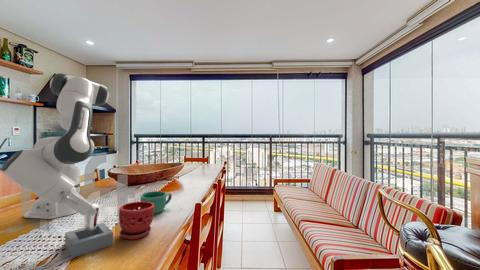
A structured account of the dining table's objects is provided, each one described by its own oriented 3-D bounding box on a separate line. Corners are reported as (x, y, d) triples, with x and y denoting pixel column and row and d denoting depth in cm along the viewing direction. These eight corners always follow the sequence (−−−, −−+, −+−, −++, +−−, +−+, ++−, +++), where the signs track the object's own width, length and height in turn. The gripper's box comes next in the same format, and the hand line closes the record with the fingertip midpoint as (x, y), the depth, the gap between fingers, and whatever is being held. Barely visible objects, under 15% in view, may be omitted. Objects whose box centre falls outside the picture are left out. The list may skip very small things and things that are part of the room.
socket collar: (71, 258, 67) (72, 244, 67) (64, 244, 75) (65, 232, 75) (112, 244, 76) (113, 232, 76) (102, 233, 84) (103, 222, 84)
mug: (144, 218, 101) (145, 199, 101) (137, 211, 110) (137, 193, 110) (176, 210, 112) (176, 193, 112) (167, 204, 121) (167, 188, 121)
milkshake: (86, 226, 78) (87, 200, 78) (100, 226, 78) (102, 200, 78) (77, 231, 73) (79, 204, 73) (93, 231, 74) (94, 204, 74)
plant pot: (151, 239, 81) (152, 209, 81) (113, 243, 77) (115, 211, 77) (155, 225, 93) (156, 199, 93) (123, 228, 89) (124, 201, 89)
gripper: (74, 187, 64) (109, 210, 71) (62, 177, 77) (92, 198, 84) (55, 205, 60) (93, 227, 68) (45, 191, 74) (78, 211, 81)
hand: (92, 211), depth 76 cm, fingers closed on milkshake, 4 cm apart
